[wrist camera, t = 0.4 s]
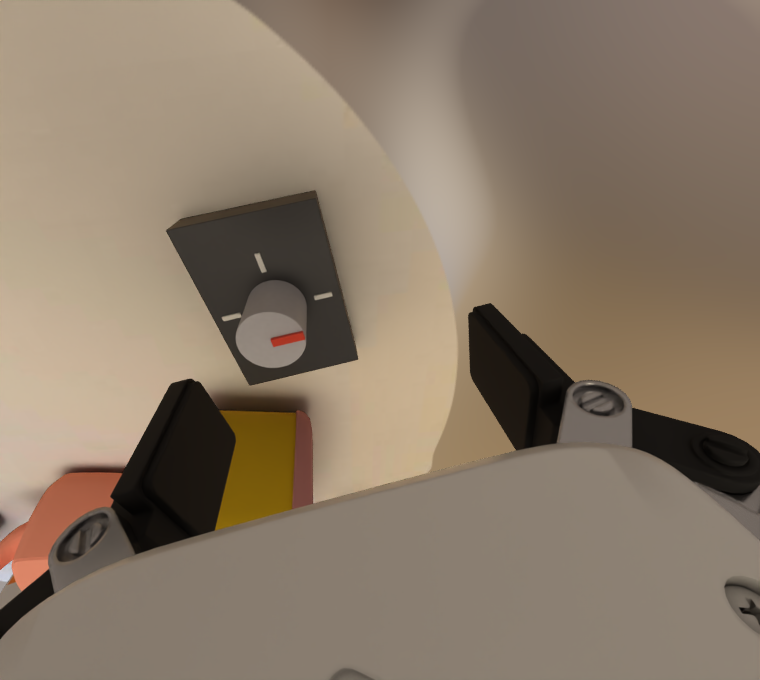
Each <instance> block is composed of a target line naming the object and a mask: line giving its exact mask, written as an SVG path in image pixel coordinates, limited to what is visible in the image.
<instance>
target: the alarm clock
mask: <svg viewBox="0 0 760 680" xmlns="http://www.w3.org/2000/svg"><path fill="white" fill-rule="evenodd" d="M219 411H220V412H221V414H222V415H223V417H224V418H225V420H226V421H227V423H228V424H229V426H230V427H231V429H232V430H233V432H234V433H235V437H236V444H235V448H234V452H233V456H232V461H231V465H230V469H229V473H228V477H227V482H226V486H225V490H224V494H223V498H222V503H221V507H220V511H219V515H218V519H217V524H216V528H215V531H216V530H219V529H223V528H227V527H230V526H234V525H237V524H241V523H245V522H248V521H252V520H256V519H259V518H263V517H267V516H270V515H274V514H277V513H281V512H285V511H288V510H292V509H296V508H299V507H303V506H307V505H310V504H313V440H312V427H311V422H310V418H309V417H308V416H307V415H306V414H305V412H302V411H299V410H296V413H285V412H256V411H226V410H219Z"/></svg>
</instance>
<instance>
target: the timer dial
mask: <svg viewBox="0 0 760 680" xmlns="http://www.w3.org/2000/svg"><path fill="white" fill-rule="evenodd" d="M306 323H307V304H306V300H305V297H304V296H303V294H302V293H301V291H300V290H299V289H298V288H296V287H295V286H294V285H292V284H290V283H288V282H285V281H280V280H270V281H266V282H263V283H260V284H259V285H257V286H256V287H255V288H254V289H253V290H252V291H251V293H250V295H249V297H248V300H247V303H246V306H245V309H244V311H243V314H242V317H241V320H240V323H239V326H238V329H237V332H236V344H237V347H238V349H239V351H240V352H241V354H242V355H243V356H244V357H245V358H246V359H247V360H249V361H250V362H252V363H254V364H256V365H259V366H262V367H268V368H279V367H284V366H287V365H289V364H291V363H293V362H295V361H296V360H297V359H298V358H299V357H300V356H301V355H302V353H303V352H304V350H305V346H306Z"/></svg>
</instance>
